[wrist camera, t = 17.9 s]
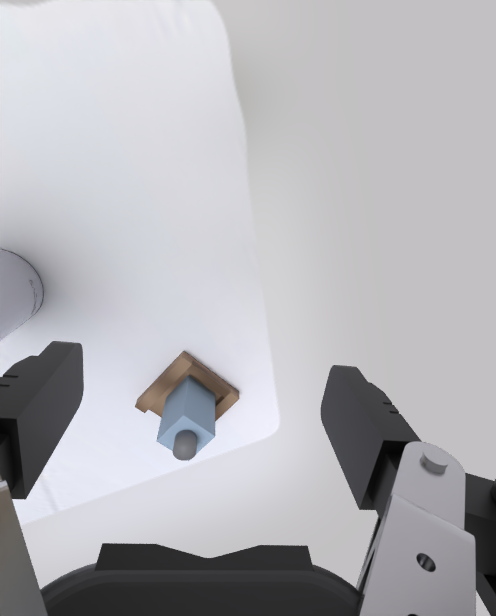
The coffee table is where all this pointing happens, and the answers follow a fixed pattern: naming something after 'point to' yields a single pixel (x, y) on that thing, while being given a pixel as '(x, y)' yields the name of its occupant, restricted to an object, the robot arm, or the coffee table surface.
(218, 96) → the coffee table surface
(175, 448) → the plug block
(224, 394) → the slot board
